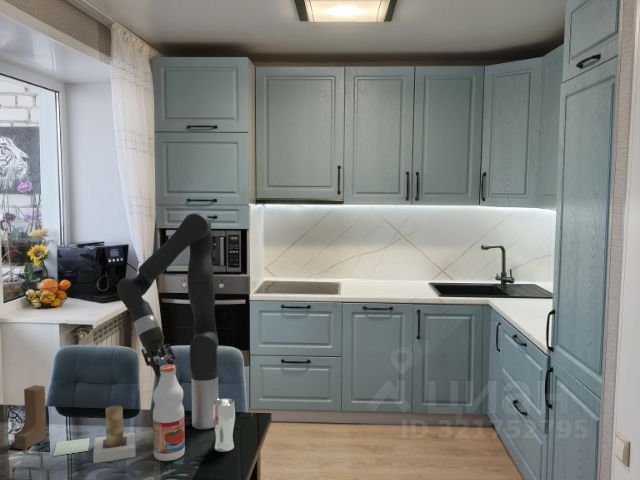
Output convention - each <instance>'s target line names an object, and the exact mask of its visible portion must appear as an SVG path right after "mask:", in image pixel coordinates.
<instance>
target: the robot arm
mask: <svg viewBox="0 0 640 480" xmlns="http://www.w3.org/2000/svg"><path fill="white" fill-rule="evenodd" d="M211 238H212V223H211V220H210V218H209V216H207V215H206V214H204V213H202V212H193V213H189V214H187V216H185V218H184V219H183V221H182V222H181V223H180V225H178V227H177V229H176V230H175V231H174V232H173V234H172V235H171V236H170V237H169V238H168V239H167V240H166V241H165V242H164V243H163V244H162V245H161V246H160V247H158V249H157V250H156V251H154V252H153V253H152V254H151V255H150V256H149V257H148V258H147V259H146V260H145V261H144V262H142V264H141V265H140V266H139V267H138V274H137V275H136V276H135V277H134V278H133V277H123V278H121V279H120V280H119V282H118V283H117V288H116V289H117V294H118V297H119V298H120V301H121V302H122V303H123V305H124V306H125V307H126V309H127V310H128V312H129V313H130V317H131V319H132V322H133V324H134V328H135V330H136V334H137V335H138V339H139V341H140V344H141V345H142V347H143V348H142V349H141V350H140V351H141V353H142V356H143V359H144V362H145V365H146V366H147V367H150V368H152V370H153V372H154V374H155V376H156V378H160V377H161V373H160V367H161V366H160V364H159V360H161V362H162V361H163V363H165V365H175V364H174V361H175V360H176V359H177V357H176V355H175V353H174V351H173V348H172V347H171V345H170V343H167V344H164V342H163V341H164V340H165V336H164V334H163V331H162V329H161V326H160V324H159V322H158V320H157V318H156V316H155V314H154V312H153V308H152V307H151V305H150V303H149V302H148V301H146V299H144V298H143V296H144V295H145V294H146V293H147V292H148V291H149V290H150V288H151V287H152V285H153V284H154V281H155V280H157V279H158V278H159V277H160V276H161V275H162V274H163V273H164V272H165V271H166V270H167V269H168V267H170V266H171V265H172V264H173V263H174V261H175V260H176V259H177V258H178V256H179V255H180V254H181V253H182V252H184V251H185V249H187V248H189V258H188V267H187V275H186V276H187V277H186V280H187V281H186V282H187V292H188V293H187V294H188V300H189V305H190V307H191V311H192V315H193V320H194V321H193V322H194V324H193V338H192V339H191V341H190V344H189V345H190V346H189V367H190V368H189V369H190V373H191V374H190V375H191V425H192V428H194V429H198V430H208V429H213V428H214V422H213V405H214V401H216V400H218V399H220V397H219V369H218V353H217V352H218V347H219V337H218V332H217V331H218V330H217V325H216V318H215V308H216V307H215V303H216V299H215V298H216V296H215V295H216V294H215V293H216V292H215V291H216V290H215V277H214V275H215V274H214V268H213V260H212V253H211V241H212V239H211ZM177 371H178V370H177V369H176V372H175V374H176V373H177Z"/></svg>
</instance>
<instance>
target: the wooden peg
mask: <svg viewBox="0 0 640 480" xmlns="http://www.w3.org/2000/svg"><path fill="white" fill-rule="evenodd" d="M123 410H124V409H123V406H121V405H110V406H108V407H106V408H105V436H106V448H112V447H119V446H123V434H124V415H123V414H124V413H123V412H124V411H123Z"/></svg>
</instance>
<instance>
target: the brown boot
mask: <svg viewBox="0 0 640 480" xmlns="http://www.w3.org/2000/svg"><path fill="white" fill-rule="evenodd" d="M23 394H24V395H23V396H24V397H23V399H24V423H23V426H22V428H21V429H20V431H19V430H18V432H16V433H15V434H14V435H13V440H14V441H13V443H14V444H13V445H14V449H18V450H22V451H23V450H24V451H25V450H27V449H29V448H31V447H33V446H35V445H37V444H39V443H42V442H43V441H44V440H46V439H47V419H46V418H47V415H46V414H47V413H46V386H44V385H35V384H34V385H31V386H29V387H25V388H24V389H23Z"/></svg>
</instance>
